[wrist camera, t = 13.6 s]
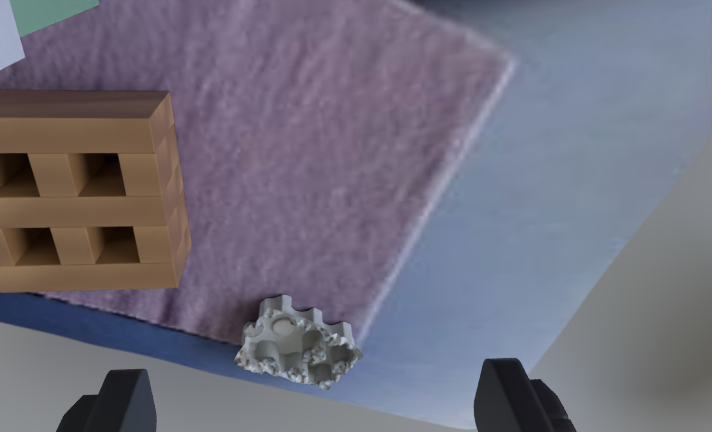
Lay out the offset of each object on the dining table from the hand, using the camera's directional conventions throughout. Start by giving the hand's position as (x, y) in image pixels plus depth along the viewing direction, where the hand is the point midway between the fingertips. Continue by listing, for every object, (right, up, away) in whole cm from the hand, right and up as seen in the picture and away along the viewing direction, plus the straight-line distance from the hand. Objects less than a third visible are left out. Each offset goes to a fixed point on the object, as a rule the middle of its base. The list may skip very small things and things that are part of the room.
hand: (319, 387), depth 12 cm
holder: (-20, +7, +28) cm, 35 cm away
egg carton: (-5, -7, +38) cm, 39 cm away
